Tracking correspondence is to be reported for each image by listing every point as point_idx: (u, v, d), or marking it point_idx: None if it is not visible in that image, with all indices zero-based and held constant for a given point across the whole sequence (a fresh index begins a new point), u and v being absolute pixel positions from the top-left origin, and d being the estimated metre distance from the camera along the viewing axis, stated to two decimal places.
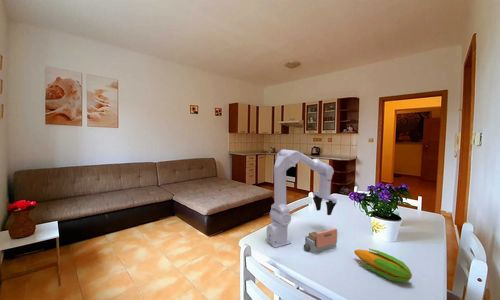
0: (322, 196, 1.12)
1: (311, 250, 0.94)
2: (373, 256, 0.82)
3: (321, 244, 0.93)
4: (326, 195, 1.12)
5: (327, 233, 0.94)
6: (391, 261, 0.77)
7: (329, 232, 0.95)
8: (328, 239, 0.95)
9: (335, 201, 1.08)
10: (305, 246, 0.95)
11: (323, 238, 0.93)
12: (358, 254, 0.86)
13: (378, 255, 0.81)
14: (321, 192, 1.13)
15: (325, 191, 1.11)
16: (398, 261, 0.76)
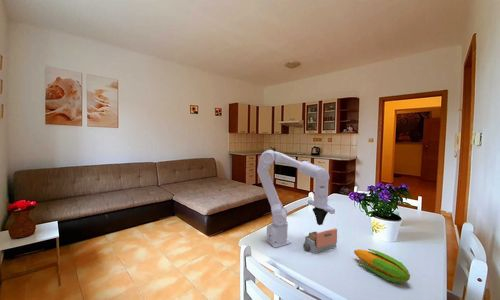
0: (318, 205, 0.96)
1: (311, 250, 0.94)
2: (372, 256, 0.82)
3: (321, 244, 0.93)
4: (323, 204, 0.95)
5: (327, 233, 0.94)
6: (389, 261, 0.77)
7: (329, 232, 0.95)
8: (328, 239, 0.95)
9: (333, 212, 0.92)
10: (305, 246, 0.95)
11: (323, 238, 0.93)
12: (357, 254, 0.87)
13: (377, 255, 0.81)
14: (317, 201, 0.96)
15: (321, 200, 0.95)
16: (396, 262, 0.76)
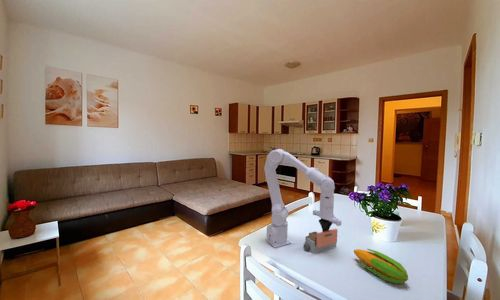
0: (324, 217, 0.93)
1: (311, 250, 0.94)
2: (370, 256, 0.82)
3: (321, 244, 0.93)
4: (328, 216, 0.92)
5: (327, 233, 0.94)
6: (388, 262, 0.77)
7: (329, 232, 0.95)
8: (328, 239, 0.95)
9: (340, 224, 0.89)
10: (305, 246, 0.95)
11: (324, 238, 0.93)
12: (357, 254, 0.87)
13: (376, 255, 0.81)
14: (322, 212, 0.93)
15: (327, 211, 0.92)
16: (395, 262, 0.75)
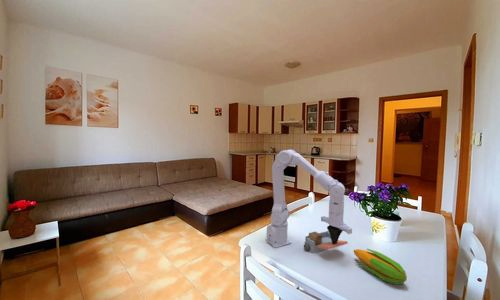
0: (333, 224, 0.88)
1: (311, 250, 0.94)
2: (370, 256, 0.82)
3: None
4: (338, 223, 0.88)
5: (336, 246, 0.90)
6: (387, 262, 0.77)
7: (338, 245, 0.90)
8: None
9: (350, 231, 0.84)
10: (305, 246, 0.95)
11: None
12: (356, 254, 0.87)
13: (375, 255, 0.81)
14: (332, 219, 0.89)
15: (337, 218, 0.88)
16: (393, 262, 0.75)
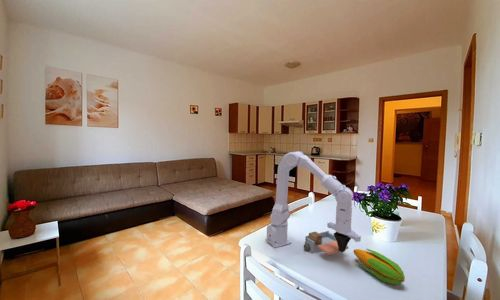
0: (341, 231, 0.85)
1: (311, 250, 0.94)
2: (368, 256, 0.82)
3: None
4: (346, 230, 0.84)
5: None
6: (385, 262, 0.77)
7: None
8: None
9: (359, 239, 0.81)
10: (305, 246, 0.95)
11: None
12: (356, 254, 0.87)
13: (374, 255, 0.81)
14: (339, 225, 0.85)
15: (345, 224, 0.84)
16: (392, 263, 0.75)
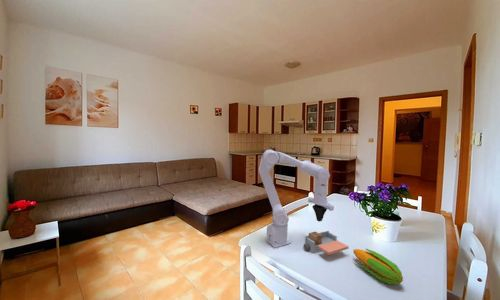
0: (318, 203, 1.00)
1: (311, 250, 0.94)
2: (367, 256, 0.82)
3: None
4: (322, 201, 0.99)
5: None
6: (383, 262, 0.76)
7: None
8: None
9: (332, 209, 0.96)
10: (305, 246, 0.95)
11: None
12: (355, 253, 0.87)
13: (373, 256, 0.81)
14: (316, 198, 1.00)
15: (321, 197, 0.99)
16: (390, 263, 0.75)
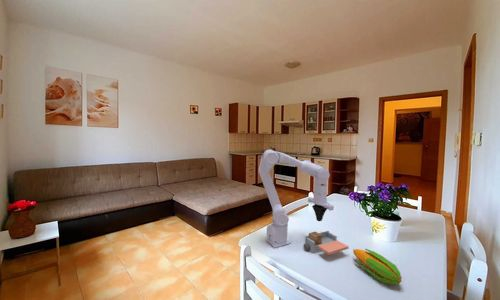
0: (317, 202, 1.00)
1: (311, 250, 0.94)
2: (367, 256, 0.82)
3: None
4: (322, 201, 0.99)
5: None
6: (382, 262, 0.76)
7: None
8: None
9: (332, 208, 0.96)
10: (305, 246, 0.95)
11: None
12: (355, 253, 0.87)
13: (372, 256, 0.81)
14: (316, 198, 1.00)
15: (321, 197, 0.99)
16: (389, 263, 0.75)
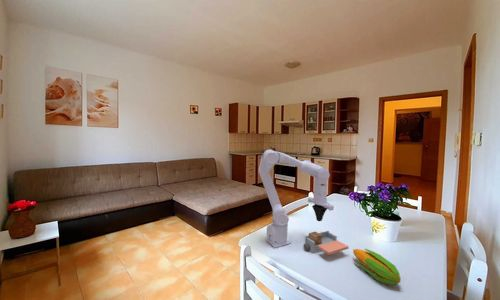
0: (317, 202, 1.00)
1: (311, 250, 0.94)
2: (366, 256, 0.82)
3: None
4: (322, 201, 0.99)
5: None
6: (381, 263, 0.76)
7: None
8: None
9: (332, 208, 0.96)
10: (305, 246, 0.95)
11: None
12: (355, 253, 0.87)
13: (372, 256, 0.81)
14: (316, 198, 1.00)
15: (321, 197, 0.99)
16: (388, 263, 0.75)
